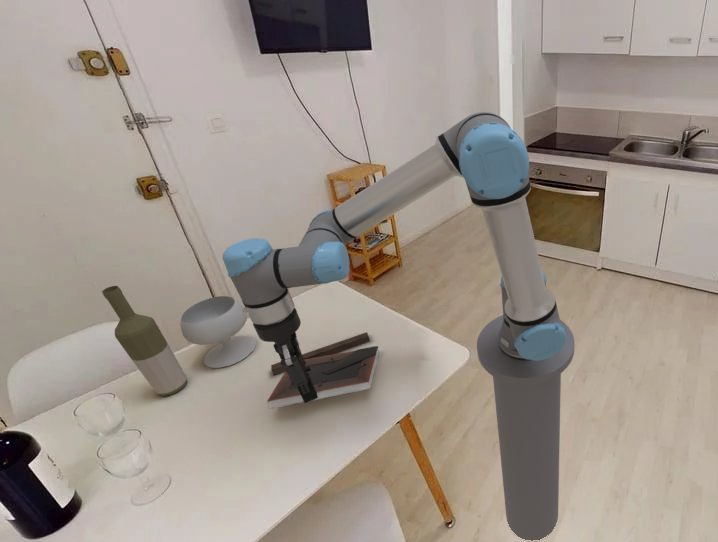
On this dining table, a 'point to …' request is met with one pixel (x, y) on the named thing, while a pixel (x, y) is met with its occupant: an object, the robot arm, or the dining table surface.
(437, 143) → the robot arm
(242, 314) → the chalice
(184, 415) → the dining table surface
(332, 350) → the walnut rail
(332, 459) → the dining table surface
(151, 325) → the bottle
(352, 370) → the picture frame
